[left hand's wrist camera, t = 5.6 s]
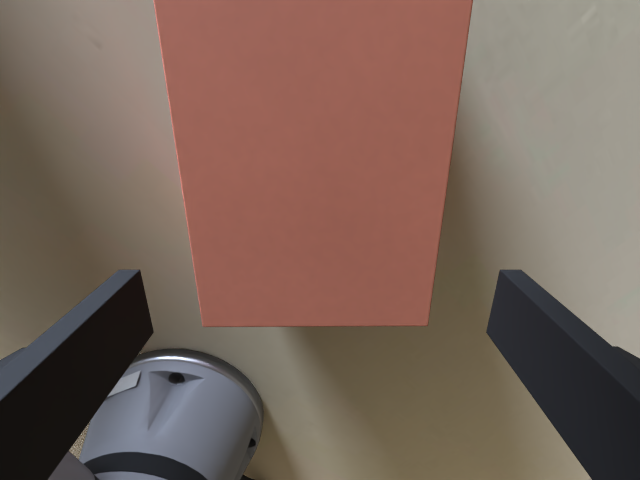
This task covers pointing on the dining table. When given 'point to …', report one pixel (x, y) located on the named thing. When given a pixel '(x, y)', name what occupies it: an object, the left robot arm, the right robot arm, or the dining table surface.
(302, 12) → the cabinet
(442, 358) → the dining table surface
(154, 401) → the left robot arm
